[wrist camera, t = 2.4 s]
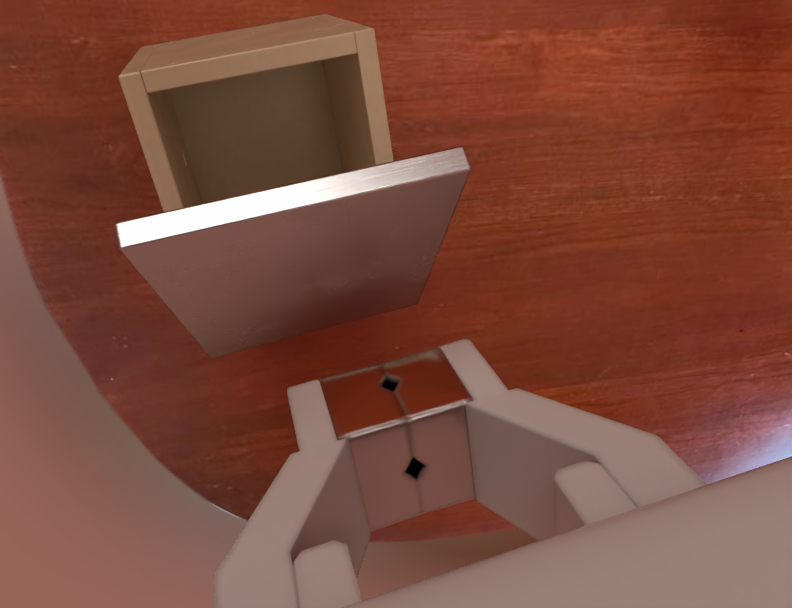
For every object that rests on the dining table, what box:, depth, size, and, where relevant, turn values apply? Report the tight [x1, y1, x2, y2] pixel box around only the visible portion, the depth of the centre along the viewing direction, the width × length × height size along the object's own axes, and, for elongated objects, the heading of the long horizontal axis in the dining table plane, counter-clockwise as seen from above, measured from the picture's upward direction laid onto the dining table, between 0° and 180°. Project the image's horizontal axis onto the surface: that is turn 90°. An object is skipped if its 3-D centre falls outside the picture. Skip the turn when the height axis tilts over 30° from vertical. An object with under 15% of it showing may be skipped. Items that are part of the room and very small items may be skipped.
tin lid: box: [115, 146, 471, 358], centre depth 23 cm, size 12×10×1 cm
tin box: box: [118, 14, 393, 212], centre depth 31 cm, size 12×10×11 cm
